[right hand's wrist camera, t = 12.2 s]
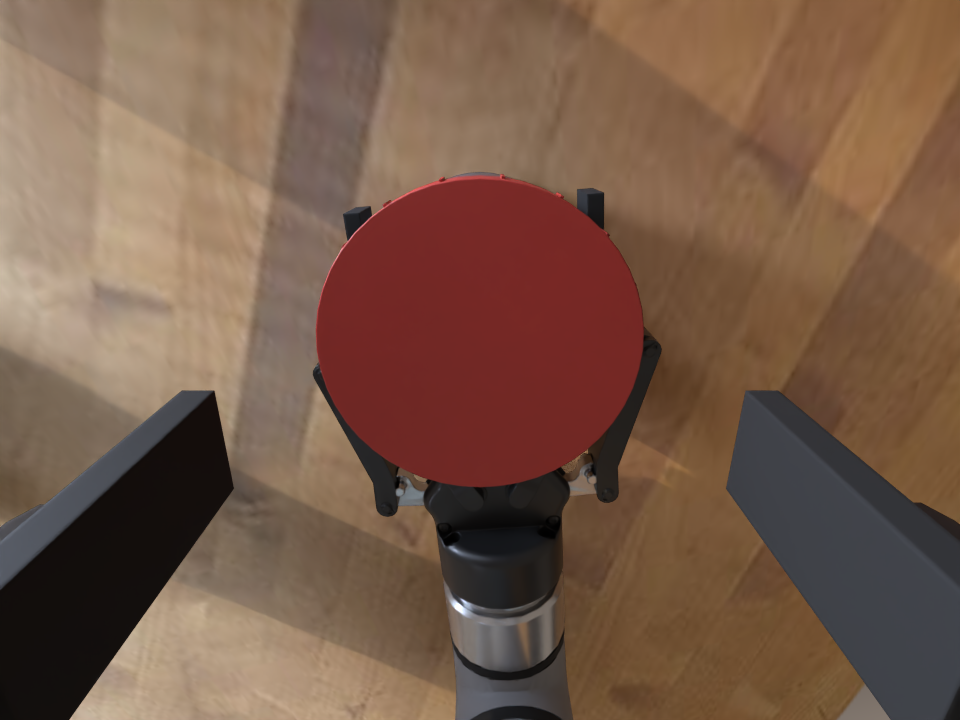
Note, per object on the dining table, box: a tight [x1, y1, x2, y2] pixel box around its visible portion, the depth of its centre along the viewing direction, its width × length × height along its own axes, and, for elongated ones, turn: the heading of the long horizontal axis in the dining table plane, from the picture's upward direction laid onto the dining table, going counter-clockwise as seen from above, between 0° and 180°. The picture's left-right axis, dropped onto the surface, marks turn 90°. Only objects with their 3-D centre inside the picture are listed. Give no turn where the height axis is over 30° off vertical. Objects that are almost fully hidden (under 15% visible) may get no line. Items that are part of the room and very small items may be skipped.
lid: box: [316, 174, 644, 487], centre depth 20 cm, size 11×12×2 cm
